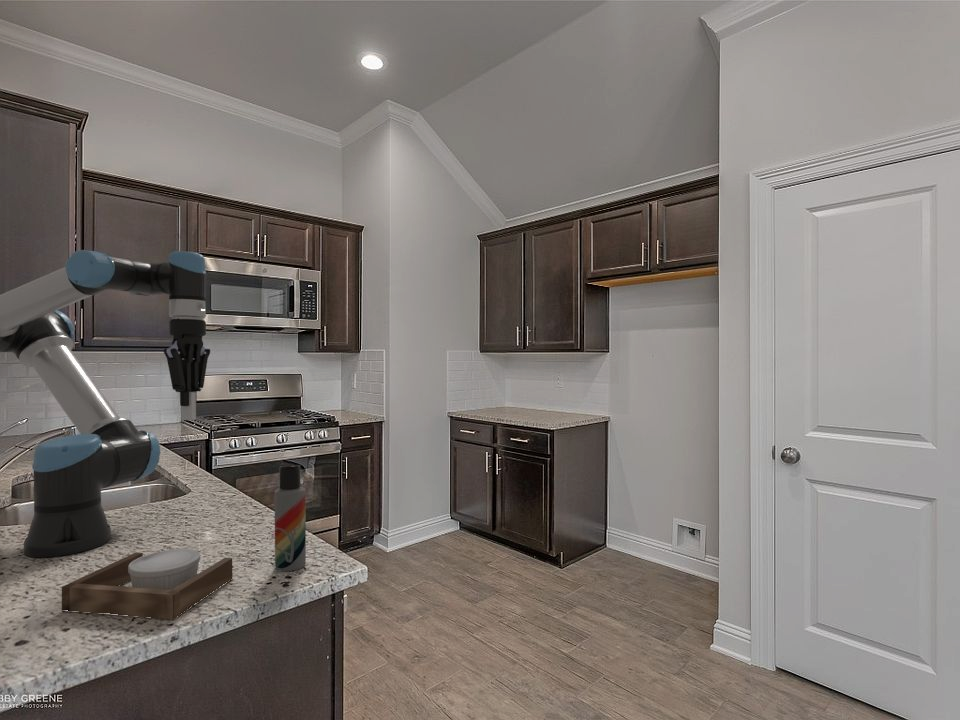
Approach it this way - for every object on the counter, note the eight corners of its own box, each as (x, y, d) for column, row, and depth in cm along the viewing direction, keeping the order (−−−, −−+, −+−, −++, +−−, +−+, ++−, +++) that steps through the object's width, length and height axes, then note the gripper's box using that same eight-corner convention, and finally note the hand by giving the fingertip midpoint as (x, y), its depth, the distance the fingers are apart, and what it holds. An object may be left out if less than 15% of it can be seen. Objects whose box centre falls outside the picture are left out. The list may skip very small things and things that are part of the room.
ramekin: (154, 575, 101) (154, 547, 101) (212, 575, 101) (212, 547, 101) (112, 603, 90) (112, 571, 90) (178, 603, 89) (177, 572, 89)
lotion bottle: (275, 574, 101) (275, 468, 101) (274, 563, 106) (273, 463, 106) (307, 569, 103) (306, 466, 103) (304, 558, 108) (303, 460, 108)
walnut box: (61, 611, 86) (61, 586, 86) (135, 573, 101) (135, 552, 101) (173, 620, 83) (172, 594, 83) (232, 579, 98) (232, 558, 98)
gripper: (182, 316, 118) (183, 423, 118) (220, 320, 131) (220, 416, 131) (152, 317, 119) (153, 422, 119) (192, 320, 132) (193, 416, 132)
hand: (188, 419), depth 125 cm, fingers closed
